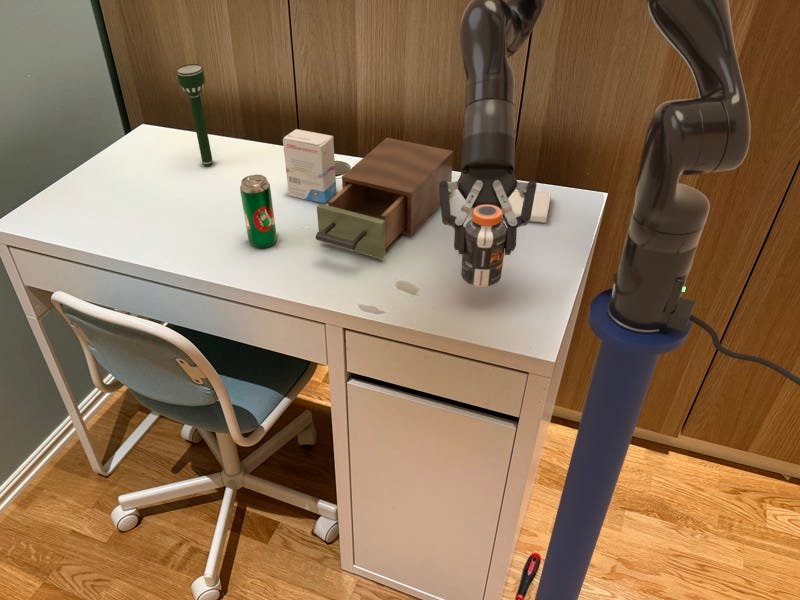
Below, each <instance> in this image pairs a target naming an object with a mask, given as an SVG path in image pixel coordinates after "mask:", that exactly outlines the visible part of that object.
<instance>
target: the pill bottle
mask: <svg viewBox="0 0 800 600" xmlns="http://www.w3.org/2000/svg"><path fill="white" fill-rule="evenodd" d="M472 210H473V212H472V216H471V217H472V218H471V219H469V220H468V221H467V222H466V224H465V225H464V227H465V237H464V254H463V255H462V254H461V255H462V256H461V270H460V274H461V276H460V277H461V279H462V280H464V282H465V283H467V284H469V285H471V286H474V287H480V288H484V287H491V286H493V285H496V284H497V283H498V282H499V281H500V280H501V278H502V271H503V265H504V256H505V242H506V234H507V226H506V224H505V222H504V220H503V218H502V211H501V209H500V208H499V207H497V206H494V205H480V206H477V207H476V208H475V209H474V208H473V209H472Z"/></svg>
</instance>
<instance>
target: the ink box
mask: <svg viewBox="0 0 800 600" xmlns="http://www.w3.org/2000/svg"><path fill="white" fill-rule="evenodd" d="M334 143H335V141H334V136H333V135H329V134H325V133H319V132H314V131H308V130H304V129H303V130H302V129H299V128H298V129H297V128H295V129H294V130H293V131H291V132H289V133H288V134H287V135H285V136H284V137H283V138H282V145H283V154H284V165H285V173H286V183H287V184H286V185H287V193H288V196H289V197H294V198H298V199H302V200H305V201H306V200H307V201H311V202H316V203H319V204H324V205H326V204H327V203H328V201H330V200H331V199H332V198H333V197H334V196H335V195H336V194H337V179H336V159H335V145H334Z"/></svg>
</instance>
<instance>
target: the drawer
mask: <svg viewBox="0 0 800 600" xmlns="http://www.w3.org/2000/svg"><path fill="white" fill-rule="evenodd" d="M316 214H317V217H316V218H317V226H318V227H317V228H318V232H317V233H315V240H316V241H319V242H322V243H324V244H327V245H328V244H329V245H332V246H335V247H339V248H342V249H346V250H350V251H353V252H356V253H360V254H363V255H366V256H371V257H374V258H378V259H381V260H383V259H384V258H385V257H386V255H387V254H386V249H387V248H388V247H389V246H390V245H391V244H392V243H394V241H395V240H396V239H397V238H398V236H400V235H401V234H400V233H401V232H402V231H403V230H404V229H405V228H406V227H407V196H405V195H400V194H396V193H392V192H388V191H384V190H380V189H375V188H371V187H367V186H363V185H359V184H354V183H349V184H348V185H346V186H345V187H344V188H343V189H340V191H338V192H336V194H335V195H334V196H333V197H332V198H331V199H330V200H328V201H327V204H324V203H319V204H318V205H317V206H316Z"/></svg>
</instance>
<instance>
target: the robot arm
mask: <svg viewBox="0 0 800 600" xmlns="http://www.w3.org/2000/svg"><path fill="white" fill-rule="evenodd" d="M548 2H549V0H471V1H470V2H469V3H468V4H467V6H466V8H465V9H464V11H463V13H462V16H461V19H460V25H459V40H460V41H459V43H460V49H461V50H460V51H461V56H462V62H463V68H464V72H465V79H466V88H465V106H464V107H465V109H464V116H463V122H462V132H461V136H462V137H461V162H460V163H461V164H460V175H459V177H458V179H457V180H455V181H451V182H446V181H441V182H440V184H439V194H440V204H441V205H440V212H441V223H442V224H443V225H445V226H450V227H452V228H453V231H454V236H453V248H454V250H455V251H458V255H463V254H464V237H465V223H466V221H467V220H468V218H469V216H470V214H471V212H472V210H474V209H475V208H476V207H477V206H480V205H494V206H497V207H499V208H500V209H501V211H502V221H503V222H504V223H505V225H506V228H507V234H506V242H505V250H504V256H510V255H511V254H512V252H514V251H515V250H516V247H517V234H518V233H517V232H518V229H519V228H520V227H526V226H527V225H528V223H529V222H530V221H529V220H530V218H531V213H532V207H533V202H534V196H535V192H536V191H537V185H538V184H537V182H536V181H535V180H529V181H528V182H525V181H518V179H517V177H516V175H515V161H516V159H515V157H516V137H517V127H516V126H517V119H516V109H515V107H516V76H515V72H514V69H513V68H512V66H511V64H510V62H509V58H511V57H512V56H514V55H515V54H516V53H517V52H518V51H519V50H520V49H521V48H522V47H523V46H524V45H525V43H526V42H527V40H528V39H529V37H530V35H531V34H532V32H533V30H534V28H535V26H536V24H537V22H538V20H539V19H540V17H541V15H542V14H543V11H544V10H545V8H546V6H547V3H548ZM645 4H646V9H647V13H648V16H649V17H650V20H651V21H652V23H653V24H654V26H655V27H656V29H657V30H658V31H659V32H660V33H661V35H662V36H663V38H665V40H666V41H667V42H668V43H669V44H670V45H671V46H672V48H674V49H675V51H676V52H677V53H678V54H679V55H680V56H681V58H682V59H683V61H684V62H685V63H686V65H687V66H688V68H689V70H690V72H691V74H692V77H693V79H694V82H695V85H696V89H697V93H698V97H696V98H695V97H694V98H683V99H672V100H667V101H664V102H662V103H660V104H659V105H658V106H657V108H655V110H654V112H652V114H651V117H650V120H649V122H648V124H647V129H646V133H645V137H644V144H643V148H642V149H643V150H642V155H641V161H640V165H639V170H638V176H637V179H636V185H635V196H634V204H633V208H632V212H631V215H630V219H629V224H628V227H627V232H626V235H625V239H624V243H623V248H622V251H621V256H620V260H619V263H618V267H617V271H616V272H615V273H614V274H612V279H611V283H613V282H614V283H613V287H612V288H613V291H612V295H611V297H610V302H609V304H608V308H607V313H608V316H609V318H610V319H611V320H612V321H613V322H614V323H615V324H616V325H618V326H619V327H621V328H623V329H625V330H628V331H631V332H634V333H640V334H655V333H661V334H665V335H666V334H667V333H668V331H669V328H674V329H677V330H681V331H685V328H686V326H687V323H688V321H689V320H691V323H693V324H696V325H697V326H699V327H701V328H702V329H703V330H704V331H706V332H707V333H708V334H709V336H710V337H711V341H712V345H713V346H714V348H715V349H716V350H717V351H718V352H720V353H721V354H723V355H724V356H727V357H730V358H732V359H737V360H742V361H748V362H752V363H756V364H760V365H762V366H765V367H767V368H769V369H771V370H773V371H775V372H776V373H778V374H780V375H781V376H783V377H785V378H787V379H788V380H789V381H791V382H793V383H794V384H796V385H797V386H799V387H800V378H799V376H797V375H796V374H793V373H792V372H791V371H789V370H787V369H785V368H784V367H781V366H780V365H778V364H777V363H775V362H773V361H770V360H768V359H766V358H762V357H760V356H755V355H752V354H751V355H750V354H745V353H740V352H736V351H733V350H730V349H727V348H726V347H724V345H722V344H721V343H720V339H719V335H718V333H717V332H716V331H715V329H713V328H712V327H711V325H709V324H708V323H707V322H705V321H704V320H702V319H700V318H698V317H696V316H695V315H694V314H693V310H694V307H695V305H696V301H695V300H692V299H688V298H684V297H683V295H684V293H685V291H686V285H687V281H688V280H689V279H688V278H689V276H690V273H691V270H692V267H693V264H694V258H695V255H696V252H697V249H698V246H699V243H700V240H701V237H702V234H703V231H704V228H705V225H706V223H707V220H708V216H709V214H710V209H711V204H710V201H709V199H708V197H707V196H706V195H705V194H704V193H703V192H702V191H700V190H699V189H697V188H696V187H693V186H690V185H688V184H685V183H682V182H679V180H680V177H683V176H696V175H705V174H717V173H718V174H719V173H725V172H726V173H727V172H731V171H733V170H735V169H737V168H738V167H740V166H741V165H742V163H743V162H744V160H745V159H746V157H747V154H748V152H749V148H750V143H751V127H752V126H751V115H750V110H749V104H748V99H747V95H746V89H745V86H744V82H743V77H742V73H741V72H742V71H741V68H740V64H739V60H738V54H737V50H736V45H735V41H734V40H735V39H734V33H733V26H732V18H731V10H730V9H731V8H730V1H729V0H645ZM456 190H457V191H458V192H459V193H460V195H461V196H462V197H463V199H464V201H463V202H464V203H463V204H462V206H461V208H460V210H459V212H458V214H457V216H456V215H453V214H452V213H451V202H450V198H453V196H454V194H455V191H456ZM514 191H519V195H520V197H521V198H524V200H523V206H522V211H521V216H519V217H515V215H514V213H513V210H512V207H511V204H510V202H509V200H508V198H509V197H510V196H511V194H512V193H513V192H514Z"/></svg>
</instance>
